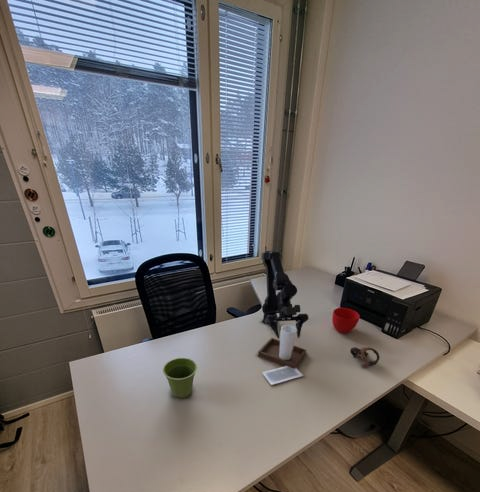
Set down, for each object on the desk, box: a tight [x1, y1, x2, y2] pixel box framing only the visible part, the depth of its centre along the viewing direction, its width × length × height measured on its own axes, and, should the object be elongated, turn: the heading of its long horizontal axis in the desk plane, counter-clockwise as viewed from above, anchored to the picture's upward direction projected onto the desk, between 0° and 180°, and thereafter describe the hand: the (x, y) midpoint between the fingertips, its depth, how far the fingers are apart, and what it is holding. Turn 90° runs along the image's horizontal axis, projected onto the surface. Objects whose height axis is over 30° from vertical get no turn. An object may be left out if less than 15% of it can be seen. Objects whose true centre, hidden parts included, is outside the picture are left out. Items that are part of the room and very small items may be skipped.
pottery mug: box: [349, 346, 380, 369], centre depth 118 cm, size 12×10×8 cm
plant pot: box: [162, 357, 198, 399], centre depth 97 cm, size 12×12×11 cm
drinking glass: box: [279, 324, 297, 360], centre depth 115 cm, size 7×7×15 cm
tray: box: [257, 337, 307, 369], centre depth 121 cm, size 18×14×2 cm
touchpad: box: [261, 366, 304, 386], centre depth 109 cm, size 8×15×2 cm, turn 113°
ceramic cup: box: [331, 306, 361, 334], centre depth 142 cm, size 13×17×10 cm
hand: (288, 337), depth 116 cm, fingers open, 9 cm apart
